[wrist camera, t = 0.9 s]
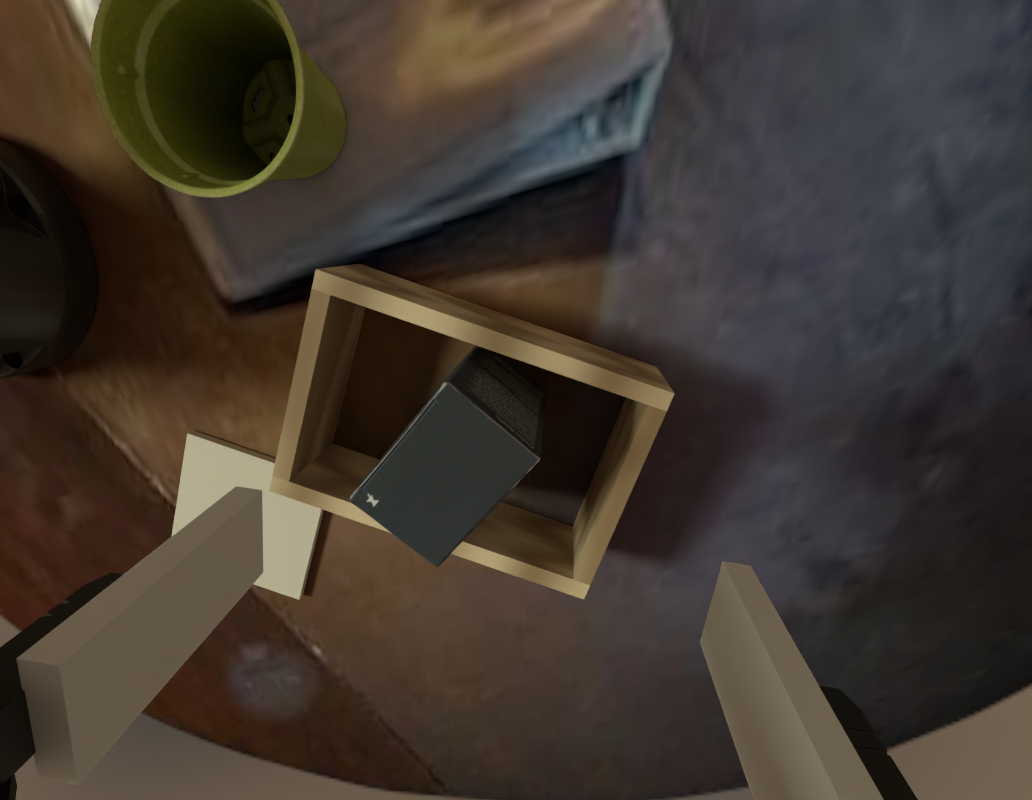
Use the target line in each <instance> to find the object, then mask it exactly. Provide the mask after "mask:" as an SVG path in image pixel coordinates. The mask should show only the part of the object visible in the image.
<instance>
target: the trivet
mask: <svg viewBox="0 0 1032 800" xmlns="http://www.w3.org/2000/svg"><path fill="white" fill-rule="evenodd" d="M275 461H276V459H275V458H272V457H269V456H266V455H263V454H261V453H258V452H255V451H252V450H249V449H246V448H243V447H240V446H237V445H234V444H232V443H229V442H226V441H223V440H220V439H217V438H214V437H211V436H208V435H205V434H203V433H200V432H197V431H194V430H193V431H191V432H189V433H187V439H186V446H185V453H184V459H183V466H182V472H181V479H180V485H179V492H178V498H177V505H176V511H175V518H174V525H173V531H172V536H173V535H175V534H176V533H177V532H178V531H180V530H181V529H182V528H184V527H185V526H186V525H187V524H189V523H190V522H191V521H192V520H194V519H195V518H196V517H198V516H199V515H200V514H201V513H203V512H204V511H205V510H206V509H208V508H209V507H210V506H212V505H213V504H214V503H215V502H217V501H218V500H219V499H220V498H222V497H223V496H224V495H226V494H227V493H228V492H229V491H231V490H232V489H233V488H235V487H236V486H238V487H245V488H251V489H258V490H262V511H263V573H262V574H261V576H260V577H259V578H258V579H257V580H256V581H255V582H254V584H255V585H258V586H261V587H263V588H266V589H269V590H272V591H275V592H278V593H281V594H284V595H287V596H290V597H293V598H295V599H298V600H299V599H300V598H301V597H302V595H303V593H304V589H305V585H306V581H307V577H308V573H309V569H310V565H311V561H312V557H313V553H314V549H315V544H316V540H317V536H318V532H319V528H320V524H321V520H322V516H323V512H324V510H323V509H320V508H317V507H314V506H311V505H308V504H305V503H303V502H300V501H297V500H294V499H291V498H288V497H285V496H282V495H279V494H276V493H274V492H271V491H269V489H270V484H271V480H272V475H273V470H274V465H275Z"/></svg>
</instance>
